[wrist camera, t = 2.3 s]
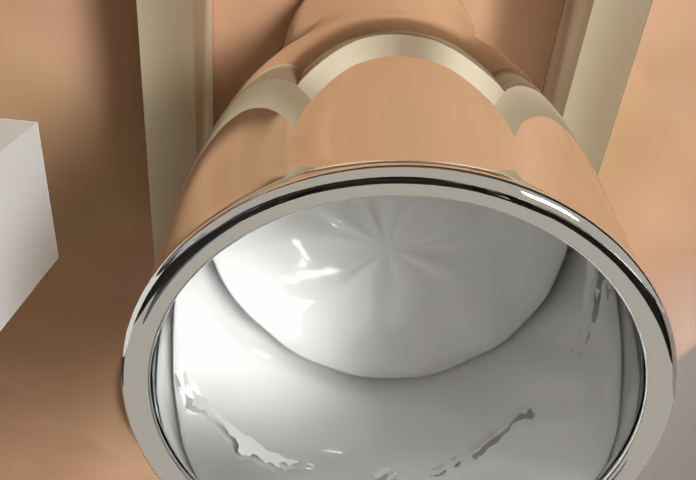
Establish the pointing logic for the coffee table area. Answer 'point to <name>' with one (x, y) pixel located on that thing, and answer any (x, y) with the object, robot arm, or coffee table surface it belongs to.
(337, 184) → the silver tall cylindrical piece
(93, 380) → the coffee table surface
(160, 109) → the frame
